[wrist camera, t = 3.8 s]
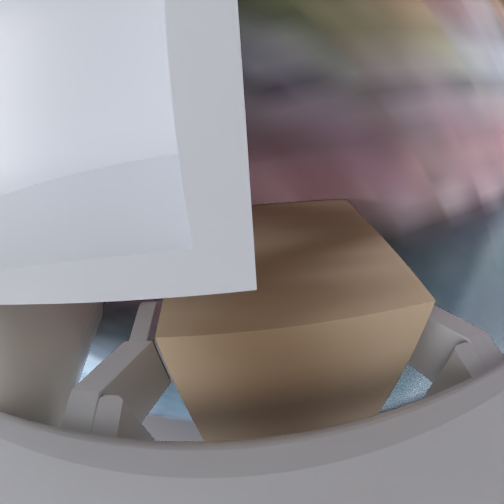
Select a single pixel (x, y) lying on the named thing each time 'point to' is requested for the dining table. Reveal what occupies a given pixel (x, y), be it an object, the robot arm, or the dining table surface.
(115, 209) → the tote
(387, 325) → the beech cube
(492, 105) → the dining table surface
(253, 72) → the dining table surface
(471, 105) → the dining table surface
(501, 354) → the robot arm
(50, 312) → the cream cylinder
